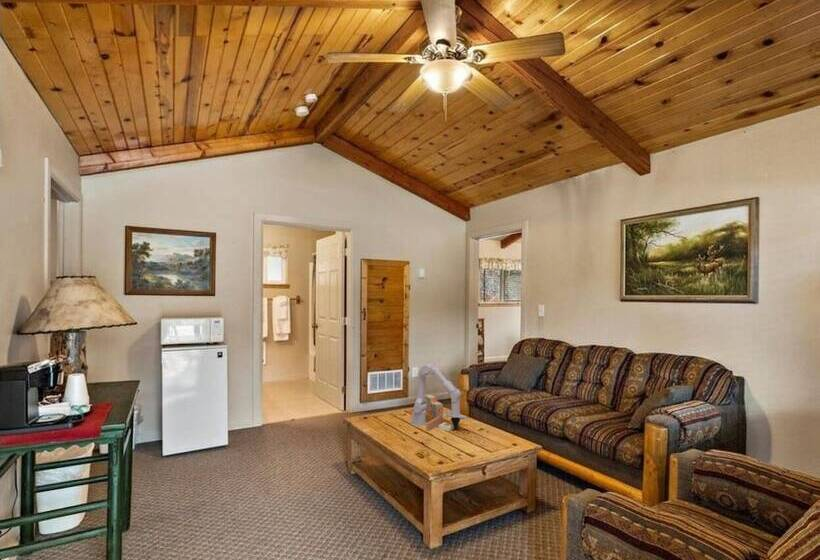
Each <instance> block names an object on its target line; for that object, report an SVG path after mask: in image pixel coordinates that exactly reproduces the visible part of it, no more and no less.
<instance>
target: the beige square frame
mask: <svg viewBox="0 0 820 560" xmlns="http://www.w3.org/2000/svg"><path fill="white" fill-rule="evenodd" d="M438 430H439V431H440V430H442V431H445V432H446V431H447V432H450V431H452V430H455V429H454V426H453V423H451V422H450V423H449V422H445V421H444V422H442V423H441V424H440V425H438Z"/></svg>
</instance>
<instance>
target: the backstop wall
mask: <svg viewBox="0 0 820 560" xmlns="http://www.w3.org/2000/svg"><path fill="white" fill-rule="evenodd" d="M442 423H443V416H441V415H440V416H438V417H436V416H435V418H432V419H431V420H429V421H428V422H426V432H427V431H428V432H430V431H431V430H434V429H435V428H438V427H439V425H440V424H442Z"/></svg>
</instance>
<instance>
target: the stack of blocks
mask: <svg viewBox="0 0 820 560" xmlns="http://www.w3.org/2000/svg"><path fill="white" fill-rule="evenodd" d="M425 399H426V403H427V409H426V414H429V415H432V416H434V417H435V418H436V417H438V416H440V415H441V416H442V417H443V416H444V404H443V403H441V402H440V401H438V397H437V396H435V395H432V394H431V393H430V394H429V393H428V394H426V393H425Z"/></svg>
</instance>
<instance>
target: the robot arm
mask: <svg viewBox="0 0 820 560" xmlns="http://www.w3.org/2000/svg"><path fill="white" fill-rule="evenodd" d="M417 375H418V376H417V377H418V378H417V397H416V399H415V401H414V405H413V411H412V412H411V413H412V414H411V426H417V427H418V426H419V427H423V426H427V422H426V421H427V420H426V419H427V417H426V415H427V412H426V409H427V403H426V399H425V395H426V387H427V386H426V385H427V384H426V383H427V376H428V375H431V376H435V377H436V378H437V379H438V381H440V382H441V383H442V386H443V387H442V388H444V389H445V391H446V392H447V393H448V394H449V398H450V399H451V400H450V401H451V402H450V403H451V404H450V405H451V409H450V411H451V412H449V413H448V412H446V413H445V414H444V415H445V416H444V417H445V418H447V417H448V418H450V420H451V422H452V423H451V424H453V426H454V429H453V430H457V429H458V424H460V422H461V421H460V420H464V421H465V420H466V421H467V416H466V415H463V414H461V396H462V392H461V390H460V389H459V388H457V387H456V386H454V385H453V382H452V381H451V380H447V379H446V377H445V376H444V375H443V374H442V372H441V371H440V369H439V368H438V366H437V365H436V364H435V363H434V362H429V363H427V364H424V365H422V366H421V367H420V369H419V371H418V374H417Z"/></svg>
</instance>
